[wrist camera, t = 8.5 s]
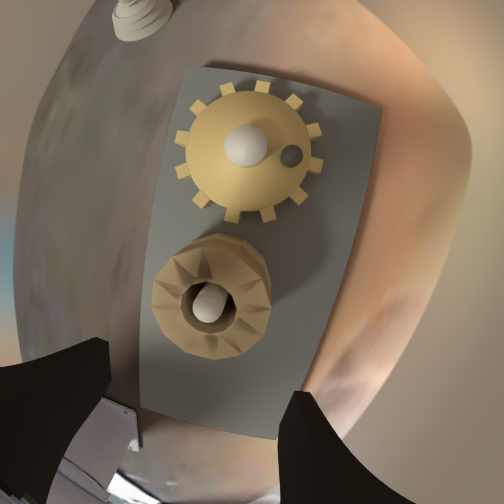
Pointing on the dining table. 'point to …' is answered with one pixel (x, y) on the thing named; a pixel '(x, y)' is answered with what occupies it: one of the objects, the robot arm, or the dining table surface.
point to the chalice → (140, 18)
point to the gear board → (254, 234)
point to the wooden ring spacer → (222, 273)
